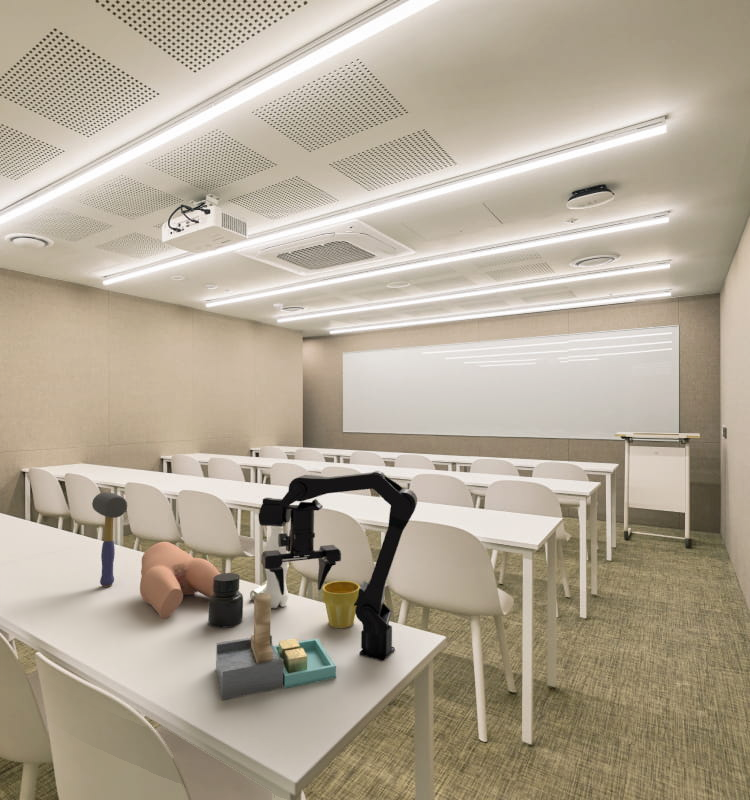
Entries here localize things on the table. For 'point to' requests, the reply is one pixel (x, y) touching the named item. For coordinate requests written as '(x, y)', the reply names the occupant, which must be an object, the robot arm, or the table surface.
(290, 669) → the brass block
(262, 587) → the pipe fitting
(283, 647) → the brass block
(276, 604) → the water bottle
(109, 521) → the rubber mallet
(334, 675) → the teal tray
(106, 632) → the table surface
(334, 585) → the plant pot
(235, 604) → the ink bottle
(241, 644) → the grey tray
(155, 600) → the medical training model
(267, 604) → the light brown t-shaped block
